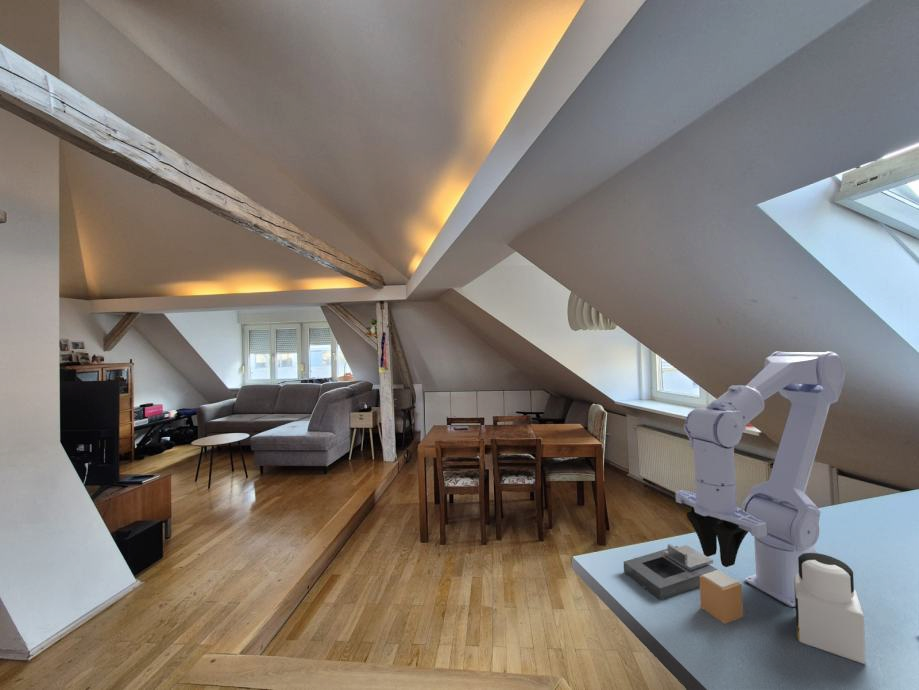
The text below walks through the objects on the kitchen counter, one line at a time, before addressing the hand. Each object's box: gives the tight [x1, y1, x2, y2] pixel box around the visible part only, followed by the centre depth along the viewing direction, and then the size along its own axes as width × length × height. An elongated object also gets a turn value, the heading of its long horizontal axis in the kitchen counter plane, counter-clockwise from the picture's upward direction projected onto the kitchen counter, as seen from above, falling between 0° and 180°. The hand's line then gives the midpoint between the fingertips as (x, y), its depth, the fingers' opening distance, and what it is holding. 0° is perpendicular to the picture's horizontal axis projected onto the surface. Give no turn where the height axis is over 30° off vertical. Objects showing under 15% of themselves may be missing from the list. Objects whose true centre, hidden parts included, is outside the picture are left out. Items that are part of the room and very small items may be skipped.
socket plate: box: [623, 545, 718, 601], centre depth 75 cm, size 14×9×2 cm, turn 108°
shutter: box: [664, 543, 714, 570], centre depth 76 cm, size 6×6×2 cm
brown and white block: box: [699, 569, 744, 625], centre depth 65 cm, size 4×4×6 cm
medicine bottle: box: [794, 552, 867, 665], centre depth 58 cm, size 7×7×12 cm
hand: (718, 559), depth 65 cm, fingers open, 3 cm apart
